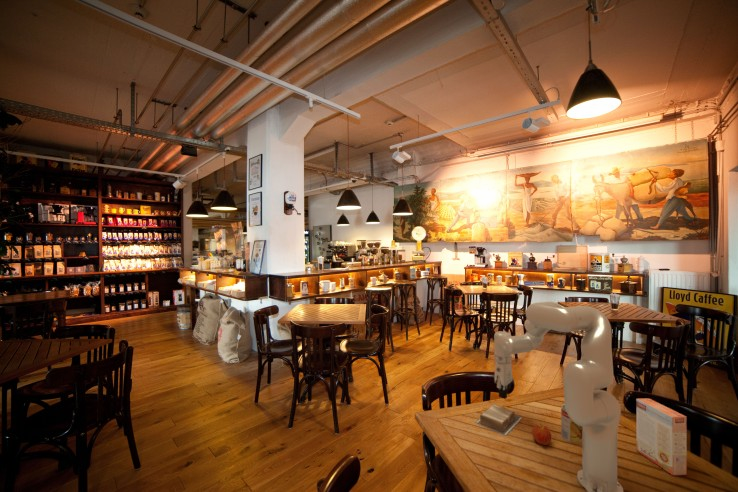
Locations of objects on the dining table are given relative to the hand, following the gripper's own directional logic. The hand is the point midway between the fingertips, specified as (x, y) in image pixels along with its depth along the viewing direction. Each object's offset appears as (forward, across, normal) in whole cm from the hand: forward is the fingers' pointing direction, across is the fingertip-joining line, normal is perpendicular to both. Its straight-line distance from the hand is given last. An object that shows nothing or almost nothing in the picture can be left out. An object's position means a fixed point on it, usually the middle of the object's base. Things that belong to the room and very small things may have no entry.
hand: (502, 397), depth 147 cm
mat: (+10, -4, 0) cm, 10 cm away
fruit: (+10, -8, -19) cm, 23 cm away
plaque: (+7, +1, 0) cm, 7 cm away
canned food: (+10, +5, -27) cm, 29 cm away
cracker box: (+10, +11, -54) cm, 56 cm away
